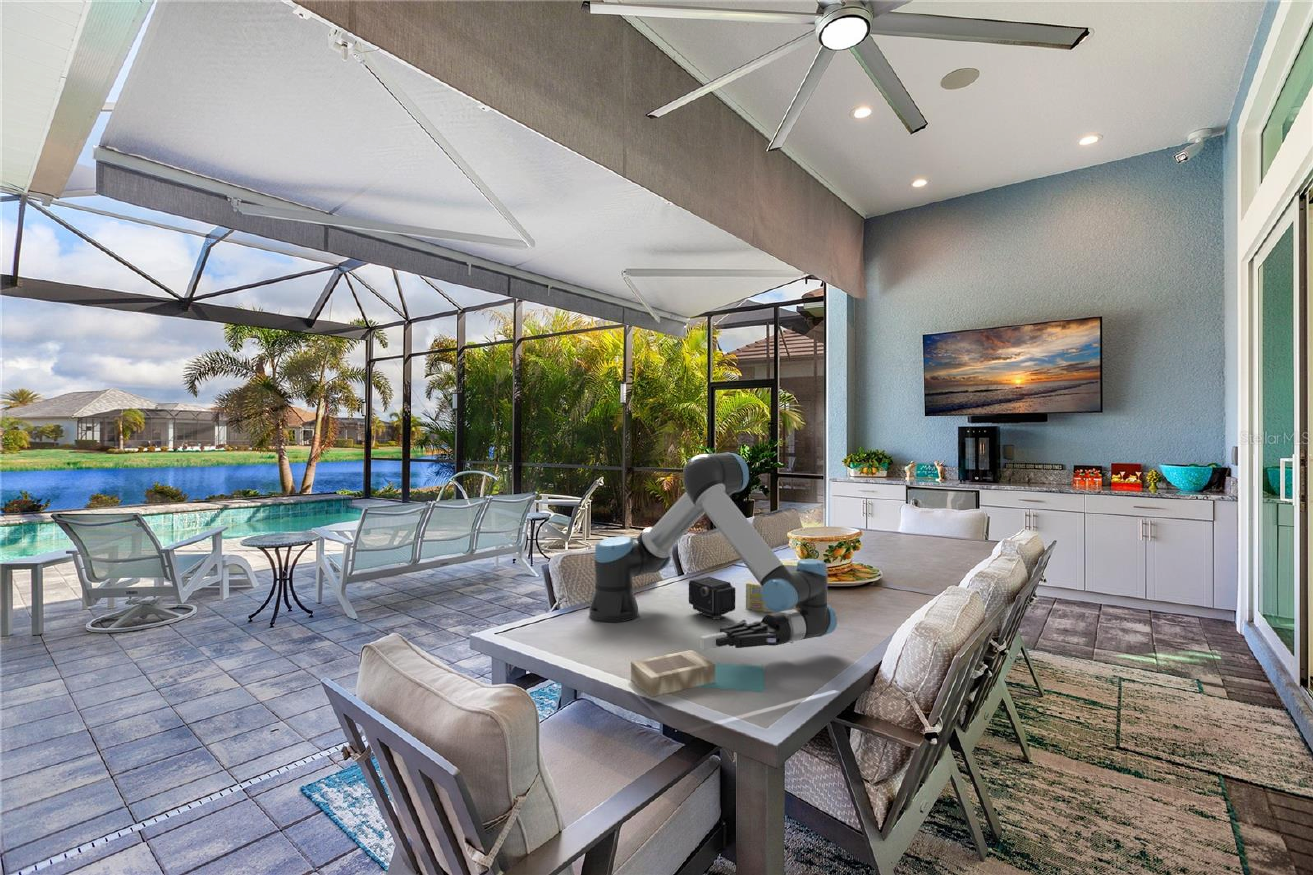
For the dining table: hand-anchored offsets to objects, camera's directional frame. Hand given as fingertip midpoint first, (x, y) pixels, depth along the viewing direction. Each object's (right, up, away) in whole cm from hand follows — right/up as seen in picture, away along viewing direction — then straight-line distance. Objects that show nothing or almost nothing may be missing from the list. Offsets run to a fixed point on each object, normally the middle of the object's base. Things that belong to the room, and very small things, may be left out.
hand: (701, 643), depth 135 cm
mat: (+1, -8, 0) cm, 8 cm away
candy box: (+26, -8, +50) cm, 57 cm away
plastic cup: (+34, -8, +58) cm, 68 cm away
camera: (+7, -8, +47) cm, 48 cm away
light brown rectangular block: (0, -5, +1) cm, 5 cm away
